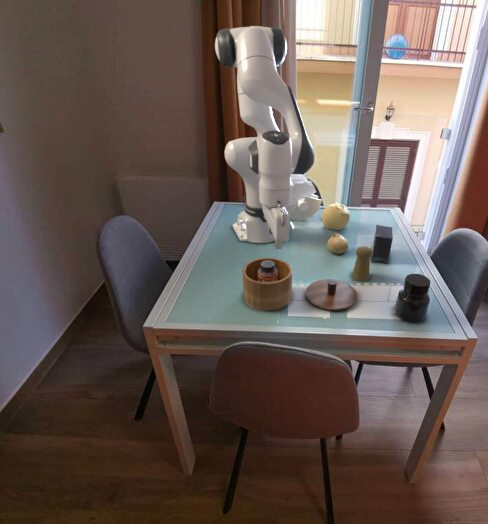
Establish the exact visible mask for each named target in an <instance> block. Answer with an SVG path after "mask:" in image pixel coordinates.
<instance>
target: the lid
mask: <svg viewBox="0 0 488 524" xmlns="http://www.w3.org/2000/svg"><path fill="white" fill-rule="evenodd" d="M305 296H306V299H307V300H308V301H309V302H310V303H311V304H312V305H313V306H315V307H317V308H319V309H321V310H322V309H323V310H327V311H343V310H346V309H349V308H350V307H352V306H353V305H355V303H356V302H357V298H358V294H357V292H356V290H355V288H353V287H352V286H351V285H350V284H349V283H347V282H344V281H341V280H338V279H333V278H332V279H331V278H324V279H319V280H316V281H313V282H312V283H310V284H309V285H308V286H307V288H306V291H305Z"/></svg>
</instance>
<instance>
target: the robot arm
mask: <svg viewBox="0 0 488 524" xmlns="http://www.w3.org/2000/svg"><path fill="white" fill-rule="evenodd" d="M214 50H215V54H216V57H217V60H218V61H219V64H221V65H222V66H223V67H224V68H229V69H233V68H236V69H237V71H236V72H237V73H236V85H237V87H236V88H237V97H238V99H237V100H238V106H239V116H240V118H241V120H242V121H243V123H244V124H246V125H247V126H250V127H252V128H253V129H254V130H255V132H256V134H257V136H250V137H240V138H236V139H233V140H229V141H228V142H227V143H226V145H225V148H224V160H225V162H226V164H227V165H228V166H229V167H230V168H231V169H232V170H234V171H235V172H236V173H237V174H238V175H239V176H240V177H241V179H242V181H243V183H244V188H245V195H244V196H243V198H242V201H243V203H244V210H242V211H241V212H240V213H238V214H237V219H236V220H235V223H233V224H232V228H233V231H234V232H235V234H236V236H237V237H238V239H239V241H240V242H248V243H253V244H269V243H272V242H274V248H275V250H282V249H283V242H287V241H289V239H290V225H291V227H292V229H295V226H294V224H293V222H292V221H290V216H289V215H288V213H287V211H286V207H287V205H289V204H290V203H291V196H292V182H291V174H301V175H303V174H305V175H306V173H308V172H309V171H310V170H311V169H312V167H313V165H314V163H315V150H314V147H313V144H312V142H311V141H310V138H309V136H308V134H307V131H306V127H305V125H304V121H303V118H302V115H301V112H300V109H299V106H298V103H297V99H296V96H295V95H294V91H293V89H292V88H291V86H290V85H288V84H287V83H286V82H284V80H283V79H282V77H281V76H280V75H279V72H278V69H277V67H279V66H281V65H282V64H283V63H284V61H285V59H286V55H287V51H288V43H287V39H286V37H285V33H284V31H283V30H282V29H281V28H279V27H276V26H269V27H268V26H262V25H261V26H260V25H259V26H258V25H250V26H242V27H232V28H229V27H227V28H223V29H220V30H219V31H218V32H217V33H216V37H215V41H214ZM273 109H274V110H275V111H277V112H278V113H280V114H281V116H282V117H283V119H284V122H285V126H286V129H287V132H288V134H287V133H286V132H283V131H281V130H280V129H279V127H278V125H277V124H276V121H275V118H274V115H273Z"/></svg>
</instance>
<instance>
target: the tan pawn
mask: <svg viewBox="0 0 488 524" xmlns="http://www.w3.org/2000/svg"><path fill="white" fill-rule="evenodd" d="M355 254H356V259H355V262H354V266H353V270H352V273H351V278H353V279H354V280H356V281H358V282H366V281H368V280H369V279H370V268H371V267H370V265H371V264H370V263H371V256H372V248H370V247H369V246H366V245H361V246H359V247H358V248H356V250H355Z"/></svg>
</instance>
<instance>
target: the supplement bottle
mask: <svg viewBox="0 0 488 524" xmlns="http://www.w3.org/2000/svg"><path fill="white" fill-rule="evenodd" d="M258 281H259V282H276V281H278V271H277V269H276V268H275V265H274V262H272V261H263V262H262V263H261V268H260V269H259V270H258Z"/></svg>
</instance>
